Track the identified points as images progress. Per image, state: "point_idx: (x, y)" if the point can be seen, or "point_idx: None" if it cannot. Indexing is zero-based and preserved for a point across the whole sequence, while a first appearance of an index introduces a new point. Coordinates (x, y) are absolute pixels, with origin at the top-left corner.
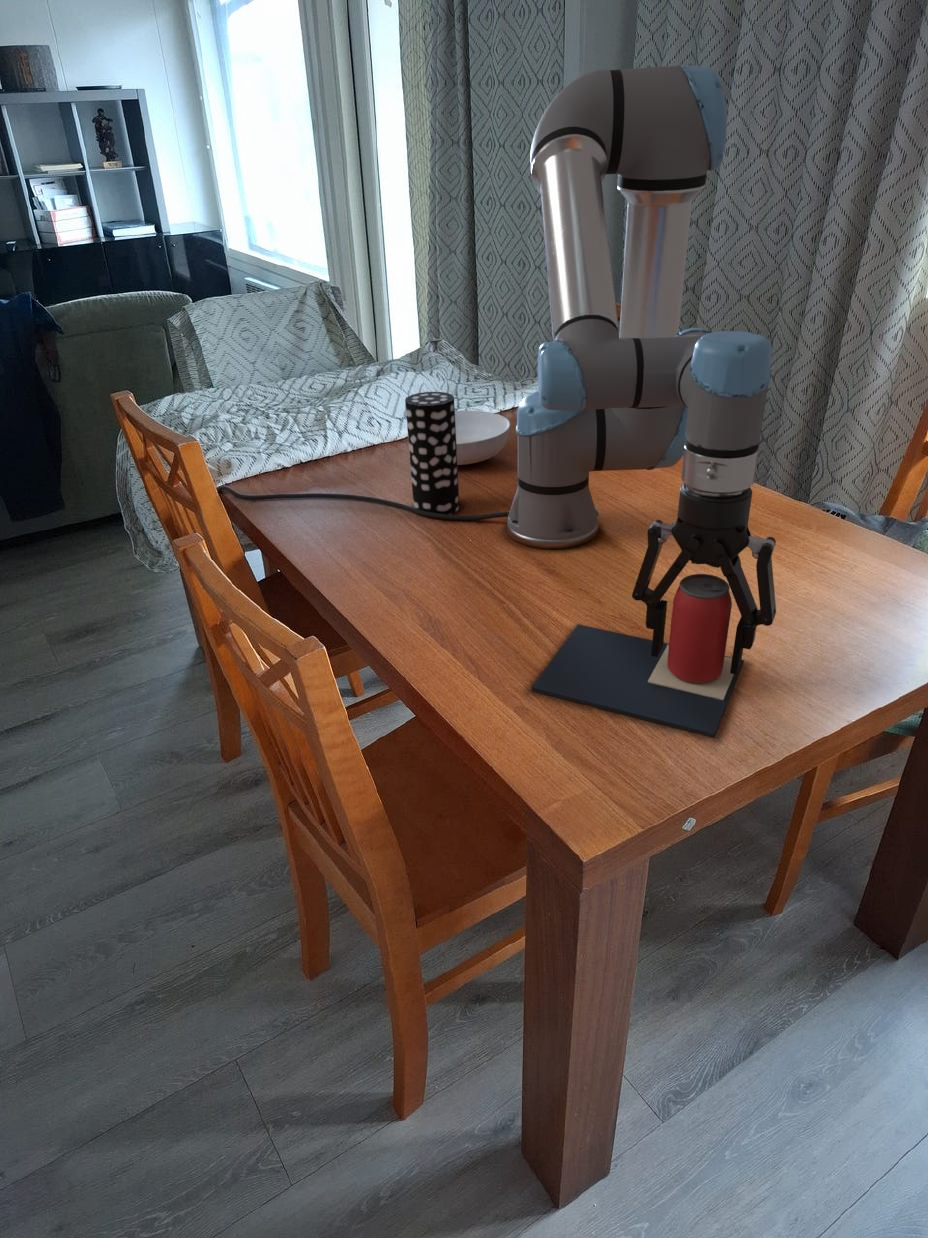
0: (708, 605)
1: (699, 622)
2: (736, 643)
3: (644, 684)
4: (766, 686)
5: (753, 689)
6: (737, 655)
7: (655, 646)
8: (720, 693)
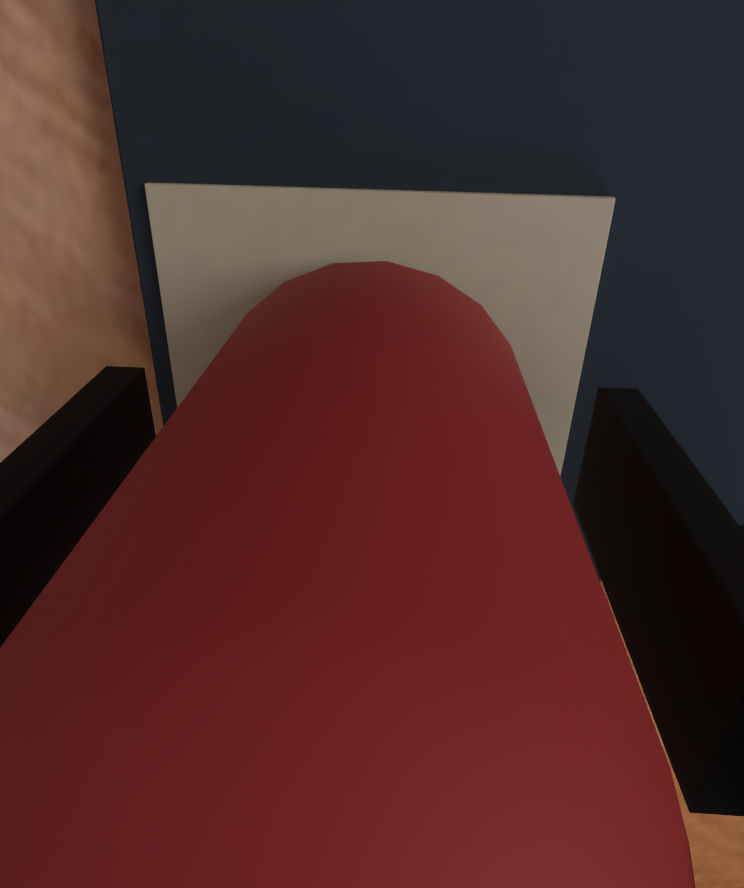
0: (42, 816)
1: (243, 511)
2: (10, 486)
3: (632, 164)
4: (40, 420)
5: (79, 377)
6: (47, 431)
7: (638, 423)
8: (179, 237)
